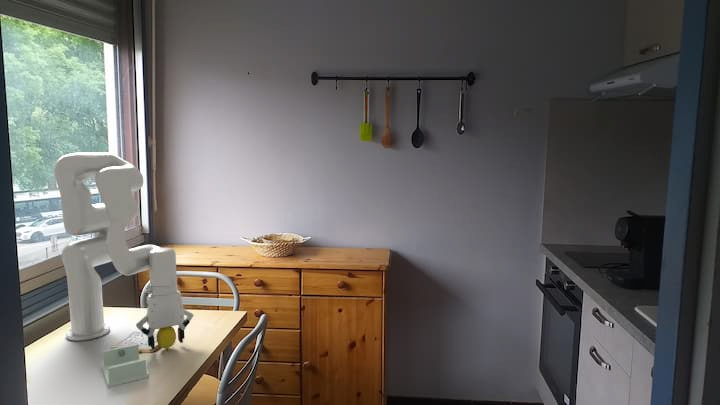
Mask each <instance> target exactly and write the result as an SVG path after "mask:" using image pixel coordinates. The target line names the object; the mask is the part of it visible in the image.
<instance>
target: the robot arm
mask: <svg viewBox="0 0 720 405" xmlns="http://www.w3.org/2000/svg"><path fill="white" fill-rule="evenodd" d="M53 172H54V180H55V182H56V185H57V188H58V191H59V193H60V194H59V195H60V203H61V205H60V206H61V211H62V212H61V213H62V219H63V220H62V221H63V226H64V230H65V232H66V234H68V235H69V236H71V237H82V236H88V235H91V234H94V236H93V237H88V238H82V239H79V240H75V241H72V242H69V243H68V244H67V245H65V247H64V248H63V249H62V252H61V260H62V264H63V267H64V270H65V274H66V281H67V290H68V305H69V316H70V317H69V320H70V329H69V330H67V331H66V333H65V336H66V337H65V338H66V339H68V340H70V341H77V342H80V341H88V340H89V341H90V340H94V339H96V338H97V339H98V338H100V337H102V336H105V335H106V334H108V333H109V332H110V330H111V329H110V328H111V327H110V325H109V324H108V323H105V317H104V303H103V300H104V299H103V287H102V279H101V276H100V275H99V274H98V272H97V271H96V269H95V267H97V266H100V265H104V264H108V263H110V262H112V265H113V267H114V268H115V269H116V271H117V272H118V273H119V274H121V275H123V276H132V275H136V274H138V273H140V272H145V271H148V270H149V271H148V272H149V286H148V287H145V288H144V291H145V293H148V296H147V301H146V302H147V303H146V315H145V316H144V317H142V318H141V319H140V320H139V321H138V322H137V323H136V324H135V326H136V328H137V329H138V330H140V332H141V333H143V334H144V335H146V336H147V344H148V347H150V348H151V349H152V350H155V348H156V346H155V336H154V333H155V331H156V330H159V329H160V328H165V327H170V326H172V327H175V326H178V327H177V338H178V339H177V340H178V341H179V343H180V344H183V343H184V339H185V330H186V327H187V326H188V325H189V324H190V322H191V321H192V319H193V317H194V313H192V312H190V311H188V310H186V309H185V308H184V303H183V297H182V293H181V291H180V290H178V279H177V278H178V274H177V256H176V251H175V249H174V248H171V247H161V246H158V245H155V244H152V243H151V244H144V245H140V246H136V247H132V248H129V246H128V244H127V242H126V237H125V235H126V229H127V226H128V225H129V223H130V222H131V221H132V220H135V218H137V217H138V215H139V214H140V208H139V206H138V203H137V201H136V199H135V196H134V194H133V193H134V192H138V191H139V190H141V189H142V187H143V185H144V176H143V175H142V174H143V173H141V171H140V170H139V169H138V167H136V166H135V165H134V164H131V163H130V162H128V161H127V160H125V159H123V158H121V157H119V156H118V155H116V154H114V153H111V152H105V151H102V152H74V153H69V154H66V155H62V156H61V157H60V158H59V159H58V160H57V161H56V163H55V166H54V171H53ZM87 180H94V182H95V186H96V188H97V191H98V192H99V196H100V198H101V200H102V203H95V204H93V198H92V192H91V190H90V189H89V187H88V185H87V184H86V182H84V181H87ZM185 316H186V317H185ZM146 323H147V325H148V327H147V328H146V327H145V326H144V325H145V324H146Z"/></svg>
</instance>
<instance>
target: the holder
mask: <svg viewBox="0 0 720 405" xmlns="http://www.w3.org/2000/svg"><path fill="white" fill-rule="evenodd" d="M102 357H103V358H102V359H103V364H101V369H102V372H103V377H104V380H105V383H106V387H107V388H111V387H115V386H118V385H124V384H127V383H130V382H134V381H138V380H143V379H146V378H149V376H150V375H149V372H148V369H147V359H146V357H145V358H142V357H141V356H140V351H139V343H133V344H129V345H128V344H127V345H124V346H119V347H113V348H110V349H105V350H102Z"/></svg>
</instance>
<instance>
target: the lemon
mask: <svg viewBox="0 0 720 405" xmlns="http://www.w3.org/2000/svg"><path fill="white" fill-rule="evenodd" d="M157 330H158V331H157V334H156V343H157V344H158V346H159V347H160V348H162V349H165V350H169V349H170V348H171V347H173V346H174V345H175V343H176V341H177V333H176V330H175V328H174V326H170V327H165V328H160V329H157Z"/></svg>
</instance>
